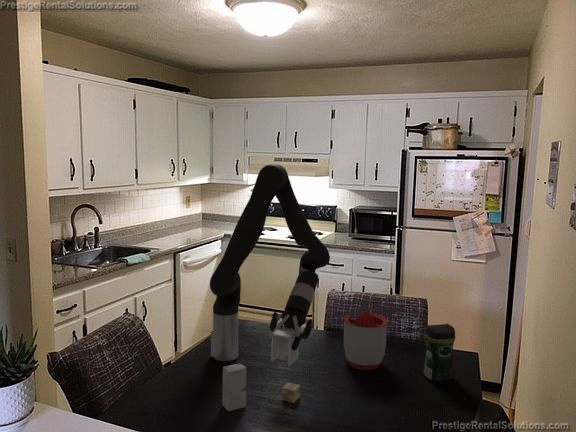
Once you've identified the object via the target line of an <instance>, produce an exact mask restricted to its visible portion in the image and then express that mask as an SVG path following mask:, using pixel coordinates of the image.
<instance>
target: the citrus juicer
mask: <svg viewBox="0 0 576 432" xmlns="http://www.w3.org/2000/svg"><path fill="white" fill-rule="evenodd" d="M343 321H344V323H343V324H344V326H343V347H344V348H343V349H344V354H345V359H346V362H347V363H348V365H349V366H350V367H352V368H354V369H357V370H360V371H372V370H376V369H378V368H379V367H380V366H381V364H382V362H383V360H384V357H385V353H386V352H385V351H386V346H387V331H388V330H387V329H388V328H387V327H388V323H389V321H388V318H386V317H385V316H383V315H381V314H378V313H374V312H369V311H367V310H365V311H363V312H362V311H360V315H359V316H358V317H357V318H356V319H352V316H351V315H350V314H349V313H348V314H346V315H344V316H343Z"/></svg>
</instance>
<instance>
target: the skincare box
mask: <svg viewBox="0 0 576 432" xmlns="http://www.w3.org/2000/svg"><path fill="white" fill-rule="evenodd" d="M222 406H223V408H224V409H226V411H227V412H231V411H236V410H239V409H242V408H245V407H246V406H247V367H246V366H244V365H243V364H242V363H240V362H239V363H236V364H230V365H226V366H222Z"/></svg>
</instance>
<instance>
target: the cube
mask: <svg viewBox="0 0 576 432" xmlns="http://www.w3.org/2000/svg"><path fill="white" fill-rule="evenodd" d="M300 395H301V384H297V383H292V382H287V383H285V385H284V386H283V387H282V401H285V402H289V403H293V404H294V403H296V402H297V401H298V400H299V398H300V397H301V396H300ZM295 401H296V402H295Z"/></svg>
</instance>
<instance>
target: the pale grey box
mask: <svg viewBox="0 0 576 432" xmlns="http://www.w3.org/2000/svg"><path fill="white" fill-rule="evenodd" d="M271 337H272V338H271ZM271 337H270V340H271V342H270V344H271V345H270V346H271V347H270V348H271V349H270V362H274V361H275V360H276V359H277V358H279V357H280V356H285V357H288V359H287V365H288V367H290V366H291V365H293V364H294V363H295V362H296V361H297V360H298V359H299V356H300V349H299V348H300V345H299V346H298V348H297V349H296V350H295V351H293V350H292V348H291V347H292V344H293V341H294V339H295V337H296V331H295V330H294V329H289V328H285V327H284V328H280V329H277V330H276V331H274V332H271Z"/></svg>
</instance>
